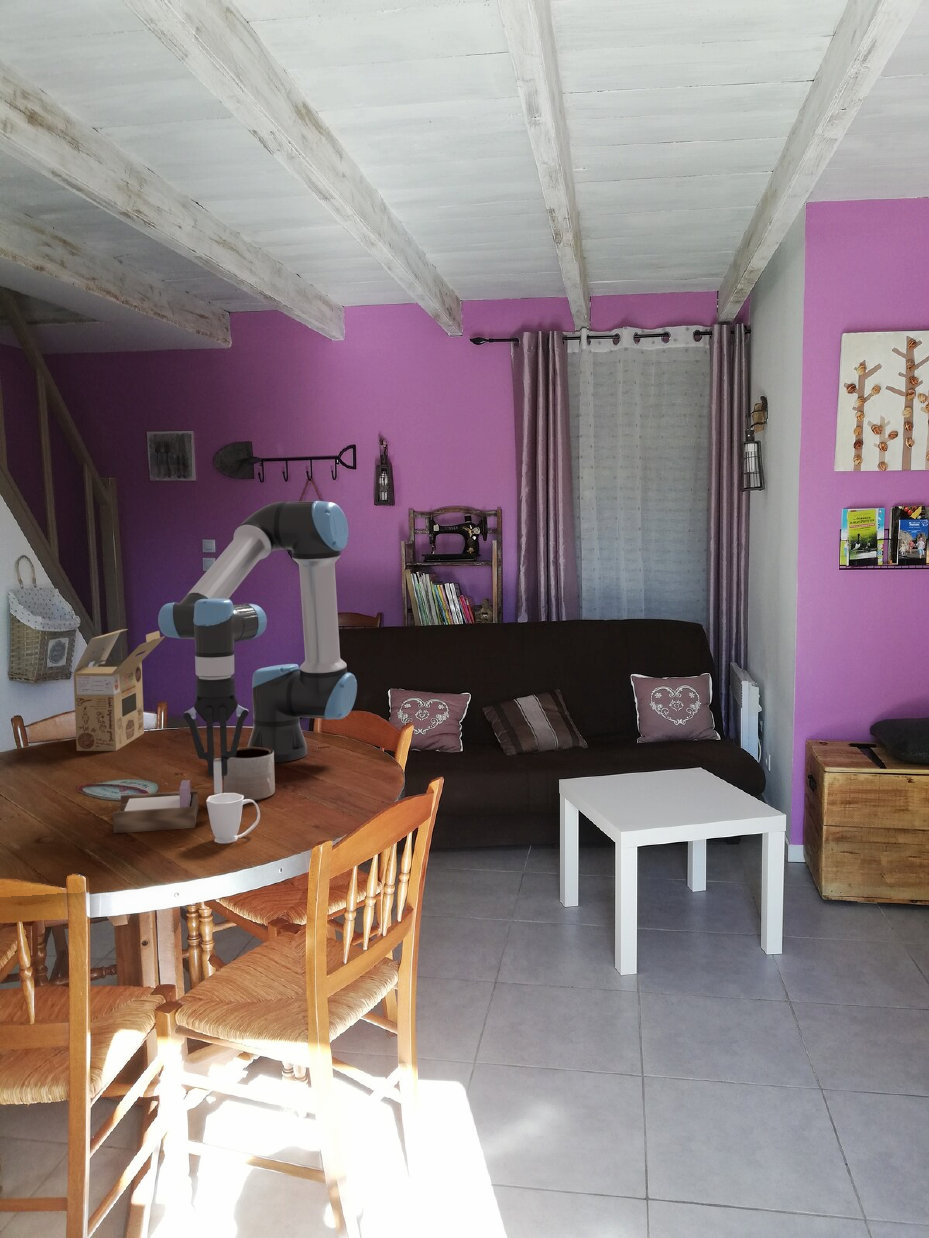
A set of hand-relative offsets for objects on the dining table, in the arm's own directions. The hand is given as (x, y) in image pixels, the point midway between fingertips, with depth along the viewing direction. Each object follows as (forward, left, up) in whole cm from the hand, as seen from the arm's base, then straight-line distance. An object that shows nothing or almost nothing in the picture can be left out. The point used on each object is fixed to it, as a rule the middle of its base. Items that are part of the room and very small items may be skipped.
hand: (218, 791), depth 186 cm
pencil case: (+12, 0, -5) cm, 13 cm away
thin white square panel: (+12, 0, -3) cm, 12 cm away
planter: (-6, -14, -6) cm, 16 cm away
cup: (-3, +14, -6) cm, 15 cm away
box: (+28, -73, -6) cm, 78 cm away
